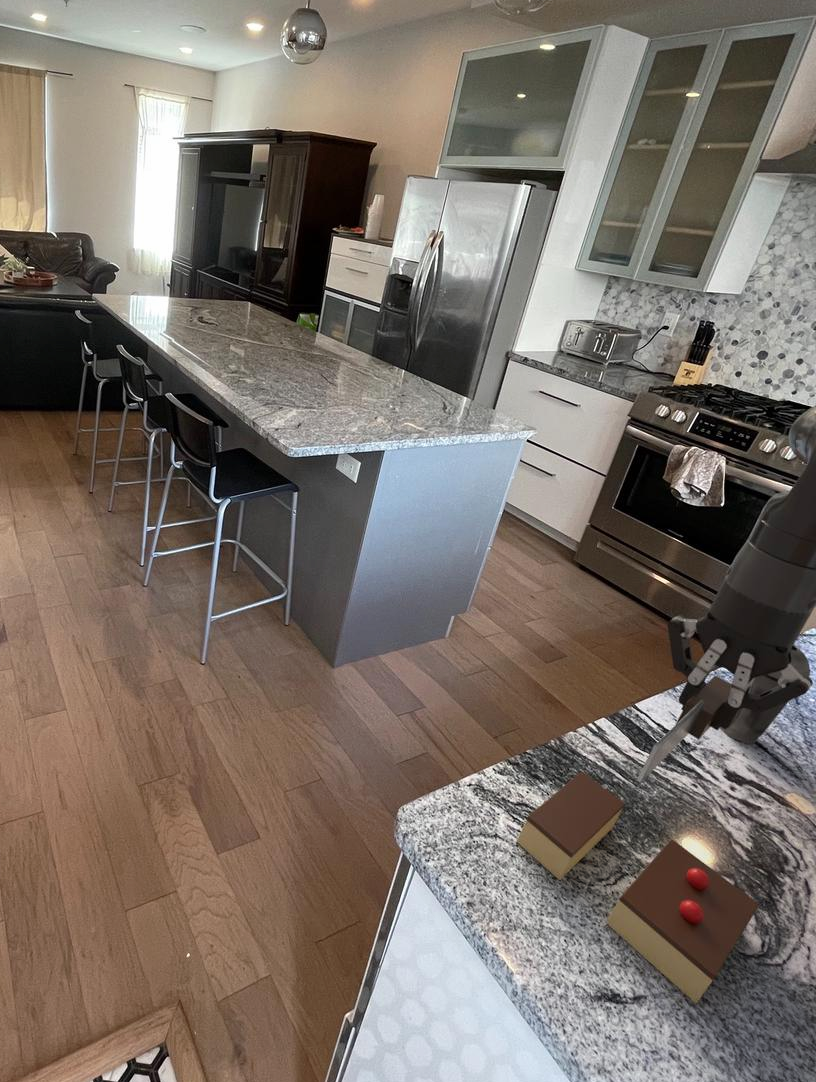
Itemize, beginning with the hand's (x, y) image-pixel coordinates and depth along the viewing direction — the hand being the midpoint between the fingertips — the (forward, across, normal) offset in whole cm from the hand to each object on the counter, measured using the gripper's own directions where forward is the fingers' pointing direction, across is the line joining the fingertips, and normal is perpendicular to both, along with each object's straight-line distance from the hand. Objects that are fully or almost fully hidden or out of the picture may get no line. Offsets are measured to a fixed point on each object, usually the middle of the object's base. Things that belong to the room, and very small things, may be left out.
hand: (701, 716), depth 72 cm
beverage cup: (+13, -2, -24) cm, 28 cm away
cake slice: (+13, +4, +16) cm, 21 cm away
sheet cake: (+13, -8, +17) cm, 22 cm away
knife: (0, 0, +7) cm, 7 cm away
